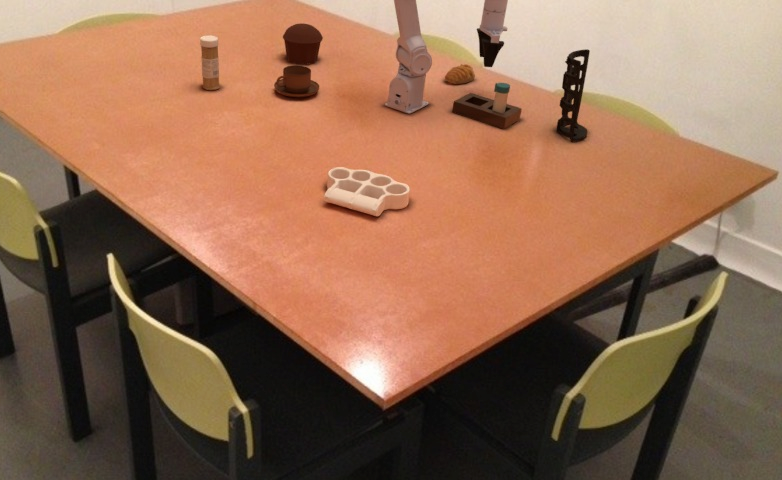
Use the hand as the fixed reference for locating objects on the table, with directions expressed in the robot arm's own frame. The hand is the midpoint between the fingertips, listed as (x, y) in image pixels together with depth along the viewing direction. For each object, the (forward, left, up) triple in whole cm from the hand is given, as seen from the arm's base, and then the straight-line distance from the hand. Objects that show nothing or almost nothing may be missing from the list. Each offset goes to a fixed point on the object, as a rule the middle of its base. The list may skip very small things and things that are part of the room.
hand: (485, 61), depth 204 cm
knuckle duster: (-67, -11, -10) cm, 68 cm away
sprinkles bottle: (-47, +55, -10) cm, 73 cm away
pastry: (+8, +11, -10) cm, 17 cm away
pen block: (-9, -7, -10) cm, 16 cm away
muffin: (-12, +53, -10) cm, 56 cm away
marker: (-9, -11, -10) cm, 17 cm away
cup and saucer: (-33, +37, -10) cm, 51 cm away
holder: (-4, -28, -10) cm, 30 cm away
